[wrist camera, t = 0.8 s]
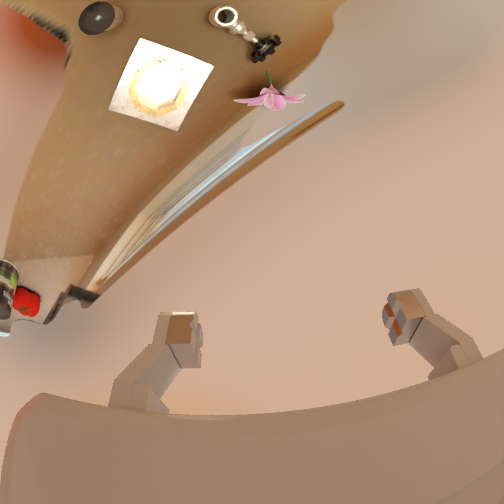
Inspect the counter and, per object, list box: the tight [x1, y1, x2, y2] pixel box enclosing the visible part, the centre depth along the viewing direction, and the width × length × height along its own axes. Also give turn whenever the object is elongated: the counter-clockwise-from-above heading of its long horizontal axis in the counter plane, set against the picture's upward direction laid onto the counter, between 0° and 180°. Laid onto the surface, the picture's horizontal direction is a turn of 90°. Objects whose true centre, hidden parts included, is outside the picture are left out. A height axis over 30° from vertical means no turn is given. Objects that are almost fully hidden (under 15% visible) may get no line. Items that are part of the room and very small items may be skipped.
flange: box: [108, 38, 214, 131], centre depth 39 cm, size 14×14×3 cm
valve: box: [209, 5, 281, 63], centre depth 33 cm, size 7×7×12 cm
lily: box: [233, 71, 306, 111], centre depth 43 cm, size 12×12×10 cm
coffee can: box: [0, 259, 20, 320], centre depth 52 cm, size 10×10×14 cm
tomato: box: [12, 288, 40, 317], centre depth 65 cm, size 10×11×6 cm
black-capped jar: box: [79, 2, 124, 35], centre depth 24 cm, size 5×5×9 cm
